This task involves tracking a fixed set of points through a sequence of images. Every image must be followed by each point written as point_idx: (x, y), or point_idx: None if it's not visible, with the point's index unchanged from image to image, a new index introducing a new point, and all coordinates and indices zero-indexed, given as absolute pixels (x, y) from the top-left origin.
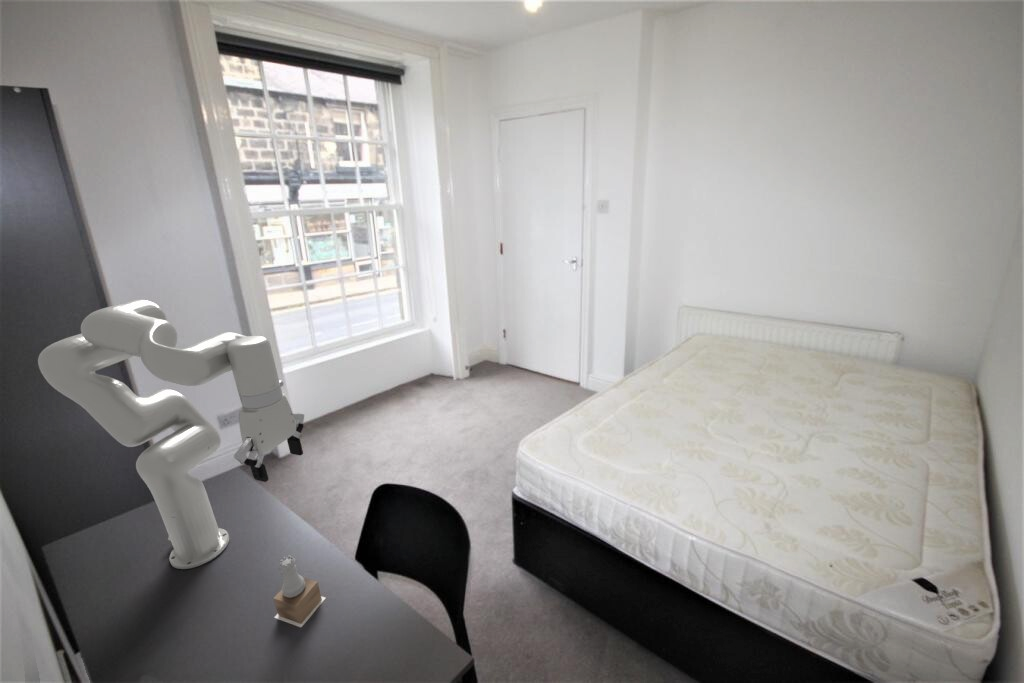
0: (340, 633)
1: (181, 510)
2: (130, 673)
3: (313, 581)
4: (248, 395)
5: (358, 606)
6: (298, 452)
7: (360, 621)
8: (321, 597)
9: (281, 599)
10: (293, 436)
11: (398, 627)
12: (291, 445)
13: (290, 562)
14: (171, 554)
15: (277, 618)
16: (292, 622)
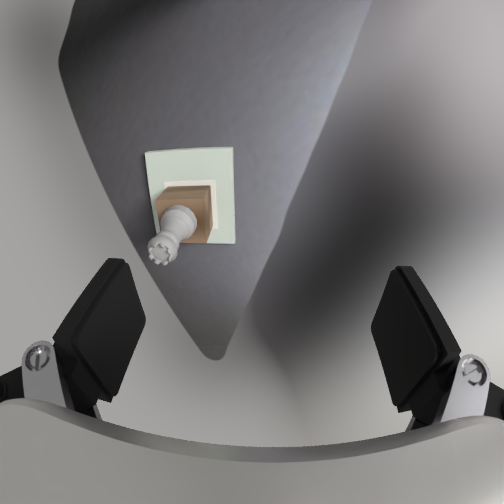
0: (190, 268)
1: None
2: (63, 82)
3: (204, 236)
4: None
5: (228, 267)
6: (378, 333)
7: (212, 280)
8: (215, 223)
9: (159, 214)
10: (426, 412)
11: (223, 315)
12: (406, 338)
13: (162, 260)
14: None
15: (164, 188)
16: None
